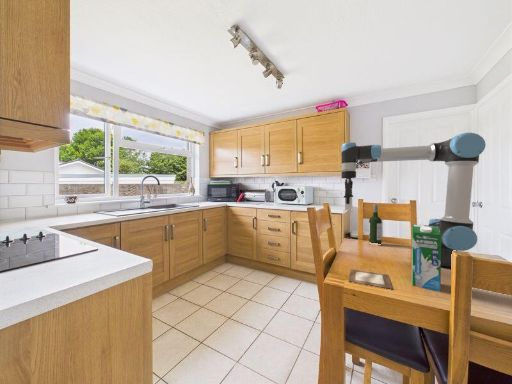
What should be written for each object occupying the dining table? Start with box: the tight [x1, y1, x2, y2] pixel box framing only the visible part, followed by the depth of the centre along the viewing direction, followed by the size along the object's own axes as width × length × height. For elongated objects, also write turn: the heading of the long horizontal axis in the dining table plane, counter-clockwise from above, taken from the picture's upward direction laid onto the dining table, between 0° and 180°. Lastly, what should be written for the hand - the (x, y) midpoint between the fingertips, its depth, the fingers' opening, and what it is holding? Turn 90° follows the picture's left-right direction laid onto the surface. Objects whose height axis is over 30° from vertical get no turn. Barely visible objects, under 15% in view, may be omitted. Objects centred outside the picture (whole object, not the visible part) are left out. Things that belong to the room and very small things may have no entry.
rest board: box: [348, 268, 393, 290], centre depth 98 cm, size 16×16×1 cm
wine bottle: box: [368, 204, 383, 244], centre depth 156 cm, size 8×8×30 cm
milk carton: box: [411, 223, 442, 292], centre depth 92 cm, size 9×9×25 cm
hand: (348, 209), depth 121 cm, fingers open, 13 cm apart
